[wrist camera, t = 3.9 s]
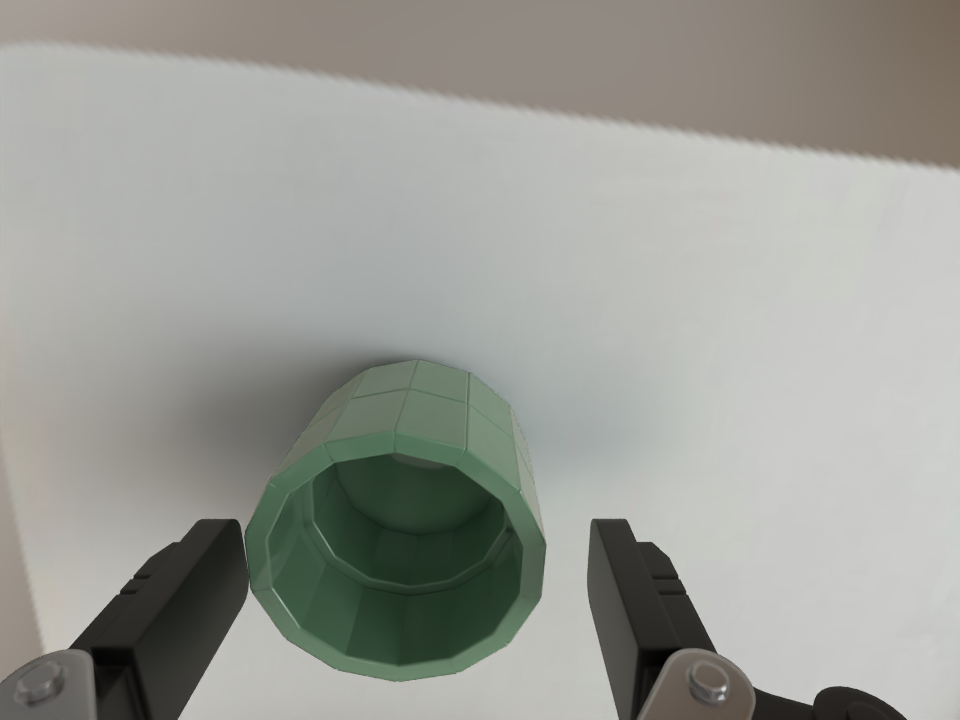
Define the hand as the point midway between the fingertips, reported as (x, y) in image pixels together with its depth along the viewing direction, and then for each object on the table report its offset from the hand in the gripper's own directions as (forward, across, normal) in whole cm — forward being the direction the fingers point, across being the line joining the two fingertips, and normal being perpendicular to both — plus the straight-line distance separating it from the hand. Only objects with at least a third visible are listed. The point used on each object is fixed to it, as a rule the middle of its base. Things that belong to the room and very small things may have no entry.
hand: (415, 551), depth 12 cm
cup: (+4, 0, 0) cm, 4 cm away
